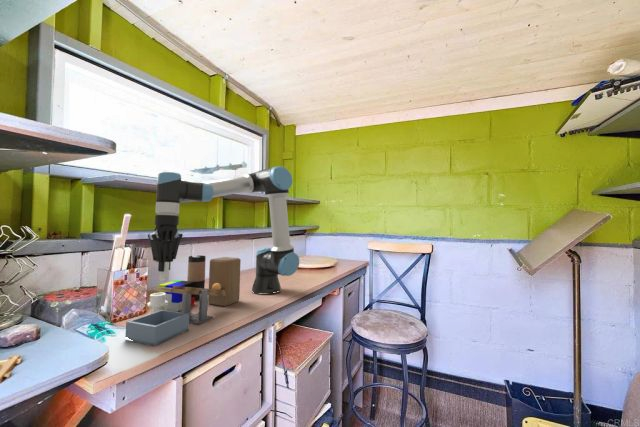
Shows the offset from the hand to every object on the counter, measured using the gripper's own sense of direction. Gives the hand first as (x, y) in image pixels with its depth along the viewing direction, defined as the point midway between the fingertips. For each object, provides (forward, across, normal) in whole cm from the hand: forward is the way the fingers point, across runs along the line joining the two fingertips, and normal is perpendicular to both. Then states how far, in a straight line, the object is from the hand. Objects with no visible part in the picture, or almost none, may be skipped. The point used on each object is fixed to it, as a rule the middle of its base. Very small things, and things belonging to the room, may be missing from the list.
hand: (163, 280), depth 95 cm
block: (+15, -29, +4) cm, 33 cm away
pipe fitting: (+15, -6, -9) cm, 19 cm away
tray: (+15, +8, +8) cm, 19 cm away
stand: (+15, -7, +8) cm, 18 cm away
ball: (+6, -18, +8) cm, 21 cm away
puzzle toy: (+15, -17, -11) cm, 25 cm away
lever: (+6, -9, +4) cm, 12 cm away
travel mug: (+15, -30, -13) cm, 36 cm away
